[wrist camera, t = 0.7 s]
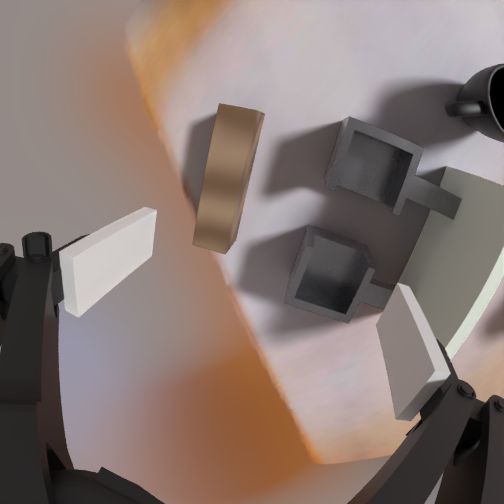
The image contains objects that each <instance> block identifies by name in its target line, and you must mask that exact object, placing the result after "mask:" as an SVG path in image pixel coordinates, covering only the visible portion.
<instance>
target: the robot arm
mask: <svg viewBox="0 0 504 504" xmlns="http://www.w3.org/2000/svg"><path fill="white" fill-rule="evenodd" d="M156 213H157V210H154V209H151V208H147V207H144V208H142V209H140V210H138V211H135V212H133V213H131V214H129V215H127V216H125V217H123V218H121V219H119V220H117V221H115V222H113V223H111V224H109V225H107V226H105V227H103V228H102V229H100V230H98V231H96V232H94V233H92V234H88V235H84V236H81V237H79V238H77V239H75V240H74V241H72V242H70V243H68V244H66V245H64V246H63V247H61V248H59V249H57V250H55V251H53V252H52V240H51V235H49V234H48V233H45V232H32V233H29V234H27V235H25V236H24V237H23V238H22V246H23V256H24V258H22V257H17V256H15V252H14V247H13V246H12V245H11V244H6V243H1V244H0V346H1V352H0V504H164V503H163V502H161V501H160V500H158V499H157V498H155V497H154V496H153V495H151V494H150V493H148V492H147V491H146V490H144V489H143V488H142V487H140V486H139V485H137V484H135V483H133V482H131V481H128V480H127V479H124V478H122V477H120V476H118V475H116V474H115V473H113V472H111V471H109V470H107V469H105V468H103V467H101V469H100V470H99V472H98V473H96V472H90V471H86V470H77V469H74V467H73V464H72V461H71V458H70V456H69V453H68V449H67V444H66V438H65V431H64V424H63V416H62V406H61V396H60V381H59V359H58V358H59V356H58V330H59V327H58V326H59V306H58V303H59V302H61V301H62V300H63V299H64V304H65V310H66V311H67V312H69V313H71V314H73V315H75V316H76V317H78V318H79V317H80V316H81V315H82V314H83V313H84V312H85V311H87V310H88V309H89V308H90V307H91V306H92V305H93V304H95V303H96V302H97V301H98V300H99V299H101V298H102V297H103V296H104V295H105V294H106V293H108V292H109V291H110V290H111V289H112V288H114V287H115V286H116V285H117V284H118V283H120V282H121V281H122V280H123V279H124V278H126V277H127V276H128V275H129V274H130V273H132V272H133V271H134V270H135V269H137V268H138V267H139V266H140V265H141V264H143V263H144V262H145V261H146V260H148V259H149V258H150V257H151V256H152V251H153V241H154V231H155V221H156ZM376 326H377V330H378V335H379V339H380V343H381V347H382V351H383V356H384V360H385V365H386V370H387V375H388V379H389V385H390V390H391V395H392V401H393V406H394V412H395V418H396V419H398V420H407V421H411V420H412V419H413V418H414V417H415V416H416V415H417V414H418V413H419V411H420V415H421V420H420V421H419V422H418V423H417V424H416V425H415V426H414V427H413V428H412V429H411V430H410V431H409V432H408V433H407V434H406V436H407V437H406V439H405V440H404V441H403V442H402V444H401V445H400V446H399V448H398V449H397V450H396V451H395V453H394V454H393V455H392V456H391V457H390V459H389V460H388V461H387V462H386V463H385V464H384V466H383V467H382V468H381V469H380V470H379V471H378V473H377V474H376V475H375V476H374V477H373V478H372V479H371V480H370V481H369V482H368V483H367V484H366V485H365V486H364V487H363V489H362V490H361V491H360V492H359V493H358V494H357V495H356V496H355V497H354V498H353V499H352V500H351V501H349V502H348V503H347V504H424V503H425V501H426V500H427V498H428V497H429V495H430V494H431V492H432V490H433V489H434V487H435V485H436V484H437V482H438V480H439V478H440V477H441V475H442V473H443V471H444V473H443V477H442V481H441V485H440V488H439V491H438V495H437V498H436V501H435V504H504V399H503V398H501V397H500V396H497V395H492V396H491V397H490V398H489V399H488V400H487V402H486V403H485V402H482V401H480V400H478V399H476V394H475V391H474V389H473V388H472V387H471V386H470V385H469V384H468V383H467V382H465V381H463V380H459V379H458V377H457V375H456V372H455V370H454V368H453V365H452V363H451V362H450V359H449V356H447V355H448V354H447V352H446V350H445V348H444V346H443V345H442V344H441V343H440V341H439V340H438V339H435V336H434V334H433V332H432V330H431V328H430V326H429V324H428V322H427V320H426V318H425V316H424V314H423V312H422V310H421V308H420V306H419V304H418V302H417V300H416V298H415V296H414V294H413V292H412V290H411V289H410V287H409V286H406V285H403V284H400V283H397V284H396V287H395V289H394V291H393V293H392V295H391V297H390V299H389V301H388V303H387V305H386V307H385V309H384V311H383V313H382V315H381V317H380V318H379V320H378V322H377V324H376ZM1 344H2V345H1Z"/></svg>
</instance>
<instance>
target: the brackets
mask: <svg viewBox="0 0 504 504" xmlns="http://www.w3.org/2000/svg"><path fill="white" fill-rule="evenodd" d="M423 149H424V148H423V147H421V146H418V145H416V144H414V143H412V142H410V141H408V140H406V139H403V138H401V137H399V136H397V135H394V134H392V133H390V132H387V131H385V130H383V129H380V128H378V127H375V126H373V125H370V124H368V123H365V122H363V121H360V120H357V119H355V118H352V117H348V118H346V119H344V120H342V124H341V127H340V130H339V133H338V136H337V140H336V143H335V146H334V149H333V152H332V155H331V158H330V162H329V165H328V168H327V171H326V174H325V177H324V178H325V183H326V188H329V189H331V190H334V191H335V188H336V185H337V186H340V187H343V188H345V189H348V190H351V191H353V192H356V193H359V194H361V195H364V196H366V197H369V198H372V199H374V200H377V201H379V202H382V203H384V204H385V205H386V206H387V207H388V209H389V210H390V211H391V212H392V213H394V214H397V215H400V213H401V210H402V208H403V205H404V203H405V200H406V198H407V199H410V200H412V201H414V202H416V203H419V204H421V205H423V206H425V207H427V208H430V209H432V210H434V211H436V212H438V213H440V214H442V215H444V216H446V217H448V218H450V219H452V220H454V218H455V216H456V213H457V211H458V208H459V206H460V203H461V200H462V199H461V198H460V197H458V196H456V195H454V194H452V193H450V192H448V191H446V190H444V189H442V188H440V187H438V186H436V185H434V184H432V183H430V182H428V181H426V180H424V179H422V178H420V177H417V176H415V173H416V170H417V167H418V164H419V161H420V158H421V155H422V152H423ZM375 270H376V269H375V267H374V264H373V261H372V259H371V256H370V254H369V251H368V249H367V246H366V245H364V244H361V243H359V242H356V241H353V240H350V239H348V238H345V237H342V236H339V235H336V234H334V233H331V232H328V231H325V230H322V229H319V228H316V227H314V226H311V225H308V226H307V229H306V232H305V235H304V238H303V240H302V243H301V246H300V249H299V252H298V254H297V257H296V260H295V262H294V265H293V268H292V271H291V273H290V277H289V282H288V287H287V292H286V296H285V301H284V303H286V304H289V305H292V306H295V307H298V308H301V309H304V310H307V311H310V312H313V313H316V314H319V315H322V316H326V317H329V318H332V319H335V320H338V321H342V322H345V323H349V321H350V320H351V318H352V316H353V314H354V312H355V310H356V308H357V306H358V305H359V303H360V302H363V303H366V304H369V305H372V306H375V307H378V308H382V309H385V307H386V305H387V303H388V301H389V299H390V297H391V295H392V293H393V291H394V289H395V287H396V286H394V285H391V284H388V283H385V282H383V281H380V280H377V279H374V278H372V277H373V274H374V272H375Z"/></svg>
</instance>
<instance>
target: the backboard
mask: <svg viewBox="0 0 504 504" xmlns="http://www.w3.org/2000/svg"><path fill="white" fill-rule="evenodd" d="M440 188H442V189H444V190H446V191H448V192H450V193H452V194H454V195H456V196H458V197H460V198H461V199H462V200H461V203H460V206H459V208H458V211H457V213H456V216H455V218H454V220H452V219H450V218H448V217H446V216H444V215H442V214H440V213H438V212H436V211H434V210H432V209H431V210H430V213H429V215H428V218H427V220H426V222H425V225H424V227H423V229H422V232H421V234H420V236H419V239H418V241H417V243H416V245H415V247H414V250H413V252H412V254H411V256H410V258H409V260H408V262H407V264H406V267H405V269H404V271H403V273H402V275H401V277H400V279H399V281H398V283H400V284H403V285H406V286H409V287H410V289H411V290H412V292H413V294H414V296H415V298H416V300H417V302H418V304H419V306H420V308H421V310H422V312H423V314H424V316H425V318H426V320H427V322H428V324H429V326H430V328H431V330H432V332H433V334H434V336H435V339H438V340H439V341H440V343H441V344H442V345H443V346H444V348H445V350H446V352H447V354H448V355H447V356H449V359H450V360H451V359H452V358H453V356H454V355H455V354H456V352H457V351H458V349H459V348H460V347H461V345H462V344H463V342H464V341H465V339H466V338H467V336H468V335H469V334H470V332H471V331H472V329H473V327H474V326H475V324H476V323H477V321H478V320H479V318H480V316H481V315H482V313H483V312H484V310H485V308H486V307H487V305H488V303H489V301H490V300H491V298H492V296H493V294H494V293H495V291H496V289H497V287H498V285H499V284H500V282H501V280H502V278H503V276H504V186H503V185H500V184H498V183H495V182H492V181H490V180H487V179H484V178H481V177H479V176H476V175H473V174H470V173H467V172H464V171H461V170H458V169H454V168H451V167H448V166H447V167H446V169H445V172H444V175H443V178H442V181H441V184H440Z"/></svg>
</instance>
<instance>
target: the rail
mask: <svg viewBox="0 0 504 504" xmlns="http://www.w3.org/2000/svg"><path fill="white" fill-rule="evenodd" d="M264 116H265V114H264V113H262V112H260V111H257V110H252V109H247V108H242V107H237V106H231V105H226V104H220V103H219V106H218V111H217V115H216V120H215V124H214V129H213V134H212V138H211V143H210V148H209V153H208V158H207V164H206V169H205V174H204V179H203V185H202V190H201V196H200V202H199V208H198V214H197V220H196V226H195V232H194V239H193V245H195V246H199V247H202V248H206V249H209V250H212V251H215V252H219V253H222V254H226V253H227V251H228V250H229V249H230V247H231V246H232V245H233V243H234V242H235V241H236V238H237V233H238V228H239V224H240V219H241V215H242V211H243V206H244V202H245V197H246V193H247V188H248V184H249V180H250V175H251V171H252V167H253V162H254V158H255V154H256V149H257V145H258V141H259V137H260V133H261V128H262V124H263V120H264Z"/></svg>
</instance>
